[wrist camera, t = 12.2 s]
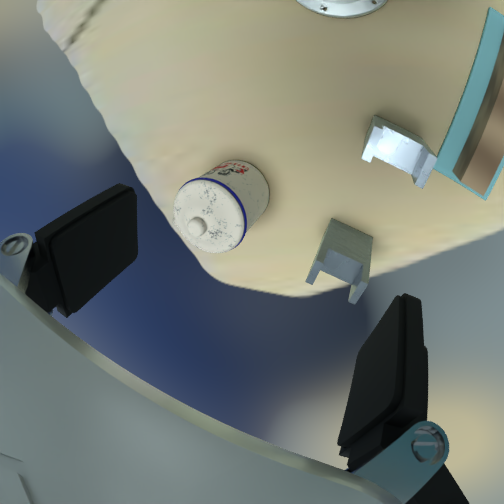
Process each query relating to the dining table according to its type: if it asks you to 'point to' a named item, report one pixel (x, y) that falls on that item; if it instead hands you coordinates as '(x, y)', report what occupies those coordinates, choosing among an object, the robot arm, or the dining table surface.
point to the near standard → (399, 149)
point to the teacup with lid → (221, 206)
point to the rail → (485, 135)
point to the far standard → (344, 257)
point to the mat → (473, 100)
